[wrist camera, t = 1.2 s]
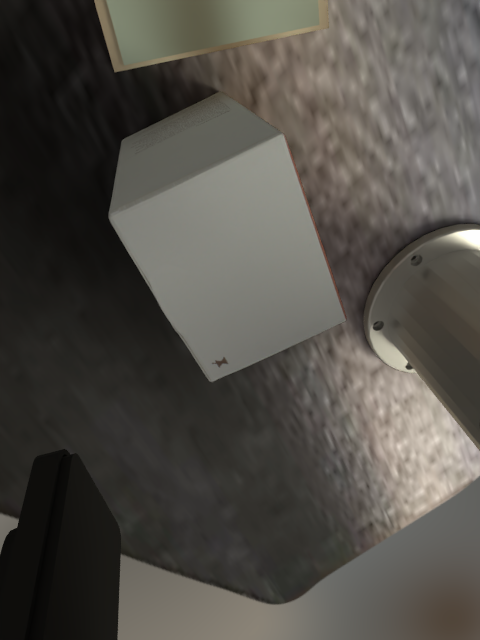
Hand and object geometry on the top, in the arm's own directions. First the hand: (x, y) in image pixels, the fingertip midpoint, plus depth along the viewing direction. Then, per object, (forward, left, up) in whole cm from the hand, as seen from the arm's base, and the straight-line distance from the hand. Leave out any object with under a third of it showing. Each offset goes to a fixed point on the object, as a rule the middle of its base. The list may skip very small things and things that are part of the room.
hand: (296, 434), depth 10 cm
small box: (0, 0, -21) cm, 21 cm away
